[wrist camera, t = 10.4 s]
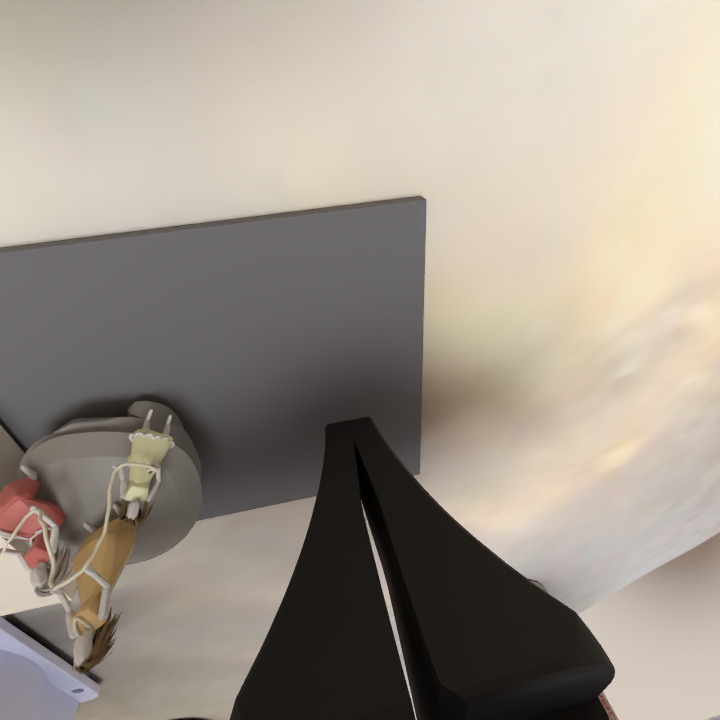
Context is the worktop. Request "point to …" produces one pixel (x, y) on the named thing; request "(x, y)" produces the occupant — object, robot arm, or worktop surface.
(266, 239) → the mat
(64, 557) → the figurine
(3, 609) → the tile
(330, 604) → the robot arm
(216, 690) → the worktop surface
